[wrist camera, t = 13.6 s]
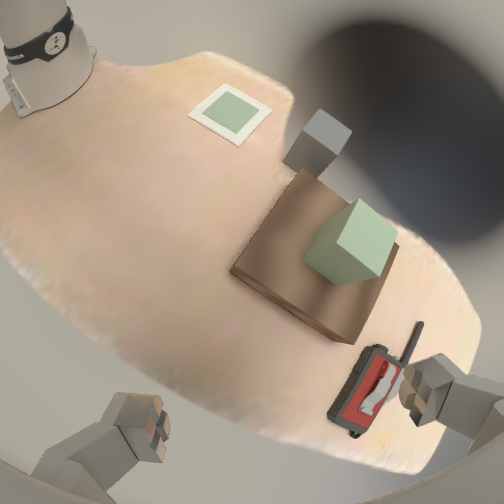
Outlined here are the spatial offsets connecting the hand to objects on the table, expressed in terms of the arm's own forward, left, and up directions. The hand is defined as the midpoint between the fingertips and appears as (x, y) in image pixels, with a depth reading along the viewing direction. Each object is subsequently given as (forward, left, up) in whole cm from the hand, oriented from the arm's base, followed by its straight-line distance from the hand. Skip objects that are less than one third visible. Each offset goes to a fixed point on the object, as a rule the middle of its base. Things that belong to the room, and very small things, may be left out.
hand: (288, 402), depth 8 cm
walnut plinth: (+5, +14, -24) cm, 28 cm away
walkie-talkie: (+22, +6, -25) cm, 34 cm away
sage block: (+5, +14, -19) cm, 24 cm away
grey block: (-3, +26, -24) cm, 36 cm away
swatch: (-16, +26, -24) cm, 39 cm away
